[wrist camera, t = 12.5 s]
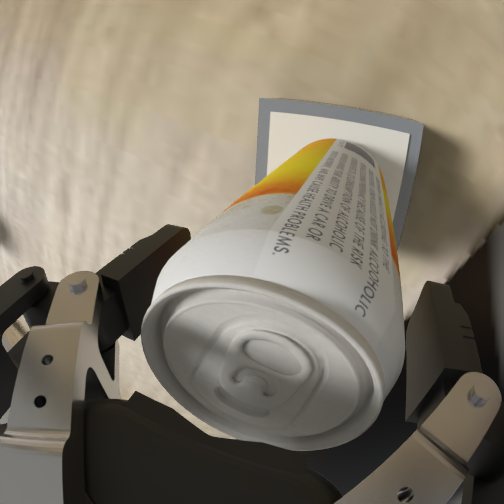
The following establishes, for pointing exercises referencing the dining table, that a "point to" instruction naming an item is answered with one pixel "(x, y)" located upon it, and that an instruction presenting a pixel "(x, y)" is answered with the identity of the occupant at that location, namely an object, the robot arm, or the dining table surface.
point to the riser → (347, 128)
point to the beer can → (286, 306)
